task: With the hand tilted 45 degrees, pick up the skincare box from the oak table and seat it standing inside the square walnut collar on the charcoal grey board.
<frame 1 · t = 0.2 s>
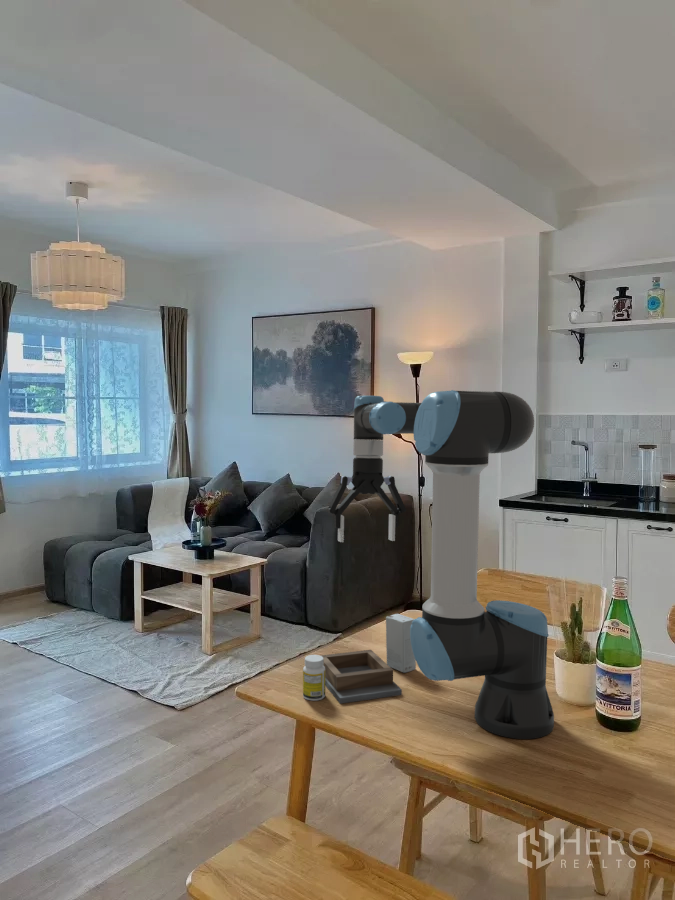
hand: (366, 540, 177), 27 cm above the table, tool pointing down, fingers open, 13 cm apart
skincare box: (400, 668, 164), on the table
collar stand: (354, 680, 156), on the table
supplement bottle: (314, 697, 148), on the table
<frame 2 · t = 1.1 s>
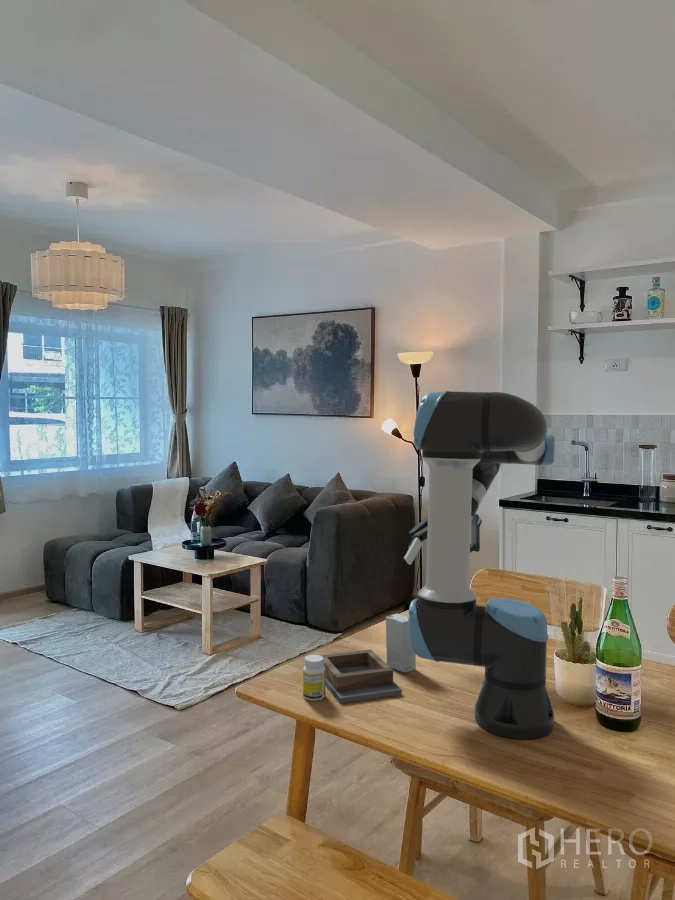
hand: (428, 566, 170), 22 cm above the table, tool tilted 45°, fingers open, 13 cm apart
nothing on the table moved.
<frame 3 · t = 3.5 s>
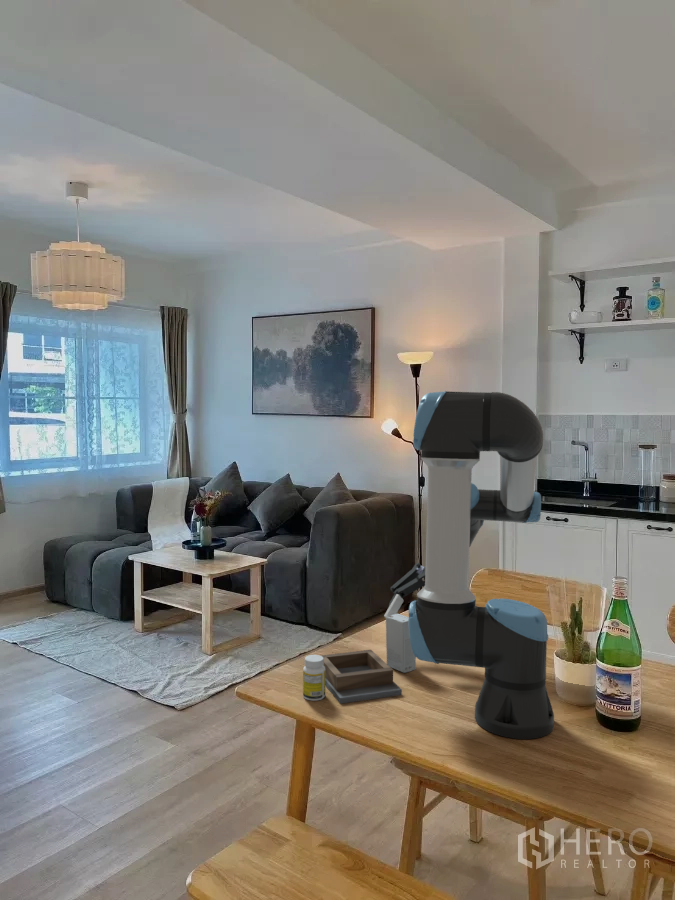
hand: (408, 626, 167), 9 cm above the table, tool tilted 45°, fingers open, 13 cm apart
nothing on the table moved.
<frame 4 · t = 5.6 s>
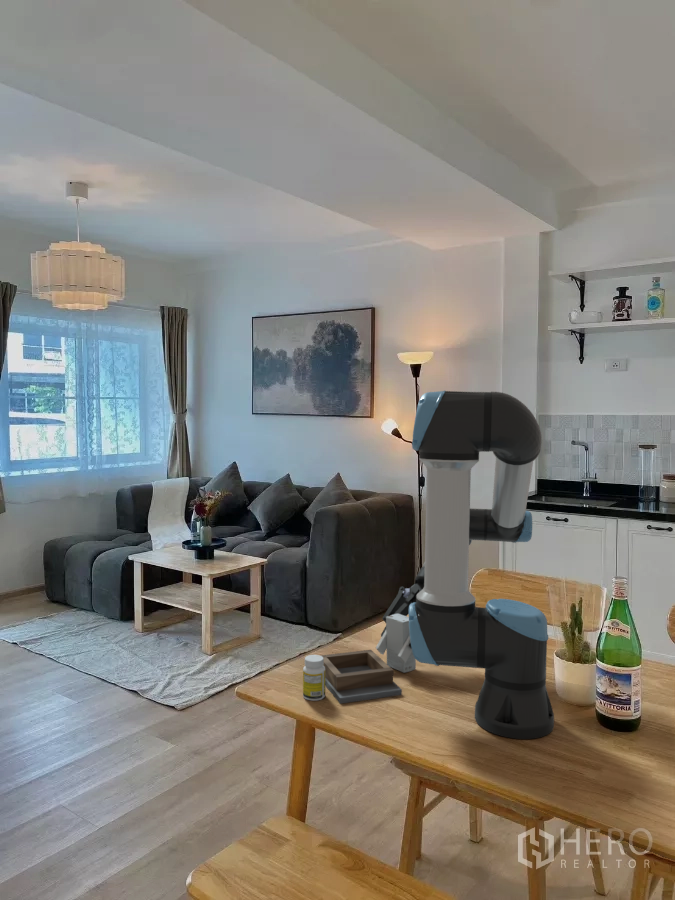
hand: (390, 655, 162), 4 cm above the table, tool tilted 45°, fingers closed on skincare box, 6 cm apart
skincare box: (400, 668, 164), on the table, touching gripper
everything else where it was.
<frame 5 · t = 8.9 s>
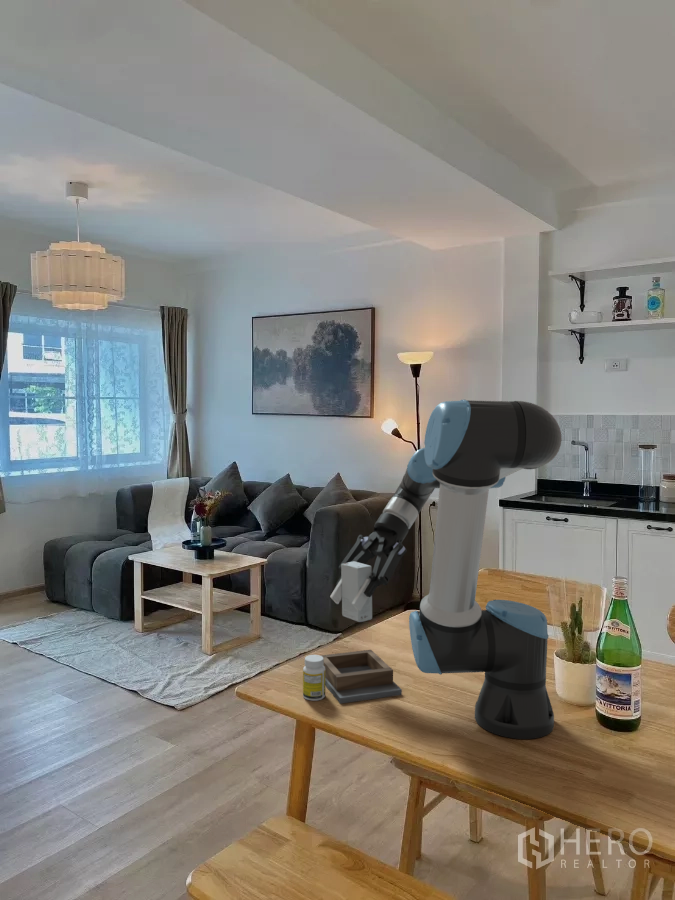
hand: (344, 603, 153), 18 cm above the table, tool tilted 45°, fingers closed on skincare box, 6 cm apart
skincare box: (356, 618, 156), point 14 cm above the table, touching gripper
everything else where it was.
when the fingers open (7 cm above the table, at t = 12.1 s): skincare box drops 1 cm, resting on collar stand.
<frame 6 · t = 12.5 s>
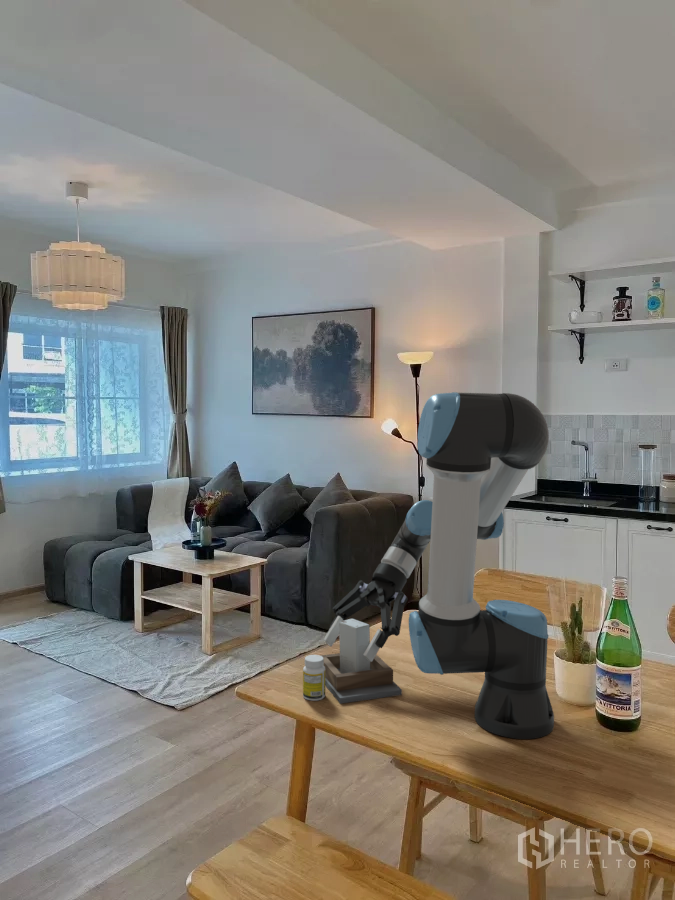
hand: (346, 650, 154), 8 cm above the table, tool tilted 45°, fingers open, 12 cm apart
skincare box: (354, 676, 156), point 1 cm above the table, touching collar stand
everything else where it was.
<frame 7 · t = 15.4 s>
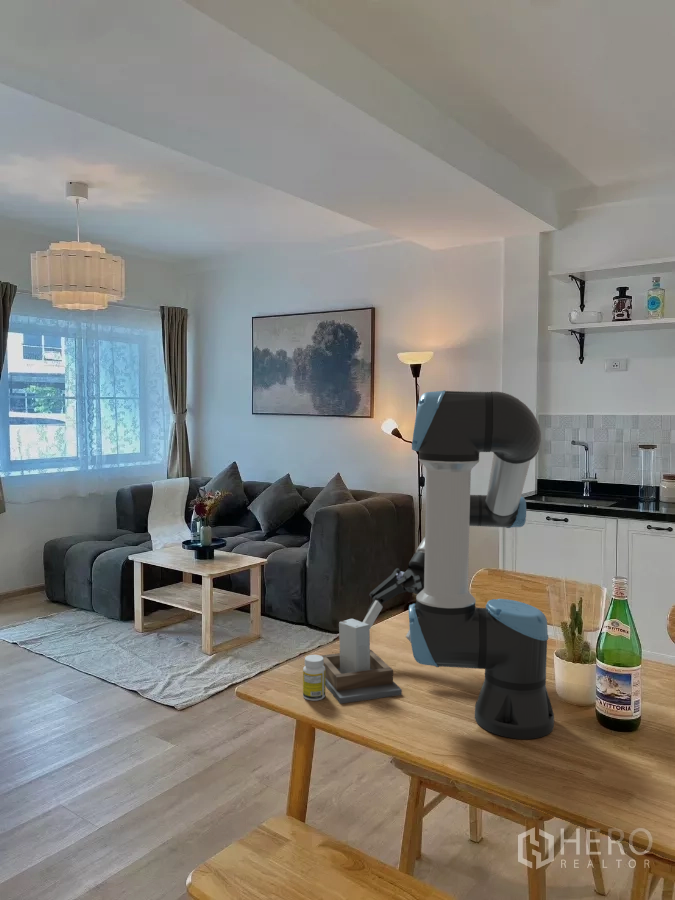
hand: (387, 632, 163), 9 cm above the table, tool tilted 45°, fingers open, 13 cm apart
nothing on the table moved.
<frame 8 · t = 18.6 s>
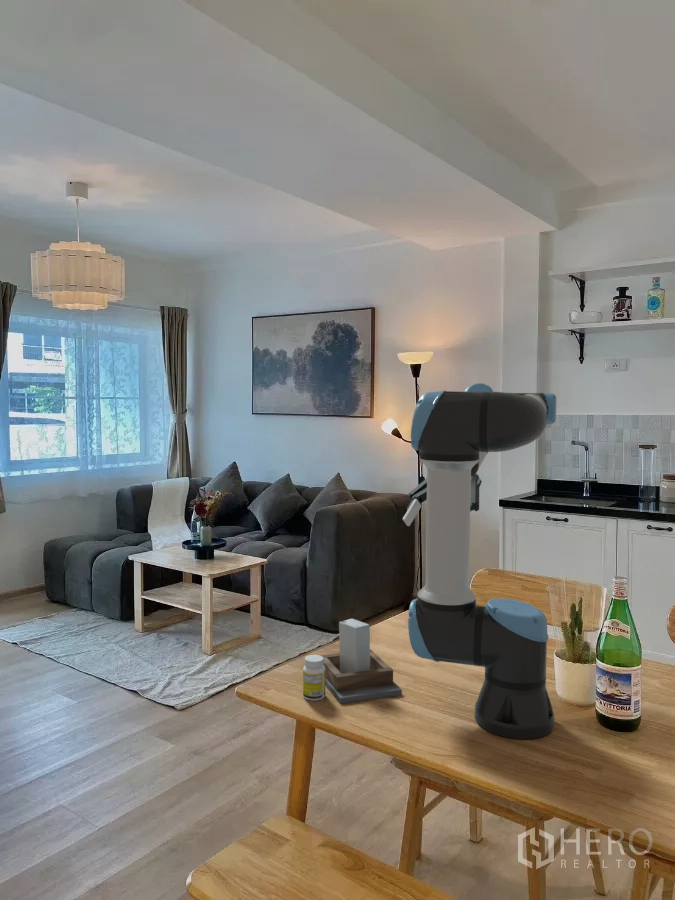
hand: (427, 526, 167), 33 cm above the table, tool tilted 45°, fingers open, 13 cm apart
nothing on the table moved.
at the end: skincare box 0.1 cm off-centre on the collar stand, point 1.0 cm above the collar stand's base; skincare box tilted 0°; the gripper is holding nothing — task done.
